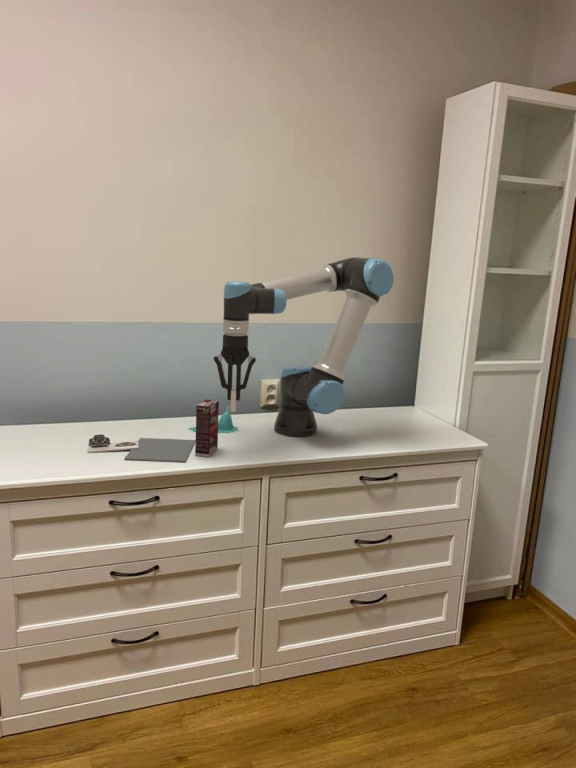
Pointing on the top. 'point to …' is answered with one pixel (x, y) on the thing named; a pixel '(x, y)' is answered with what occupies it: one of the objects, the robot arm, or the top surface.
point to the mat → (161, 450)
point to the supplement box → (206, 428)
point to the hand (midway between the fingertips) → (233, 410)
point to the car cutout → (109, 445)
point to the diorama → (224, 423)
